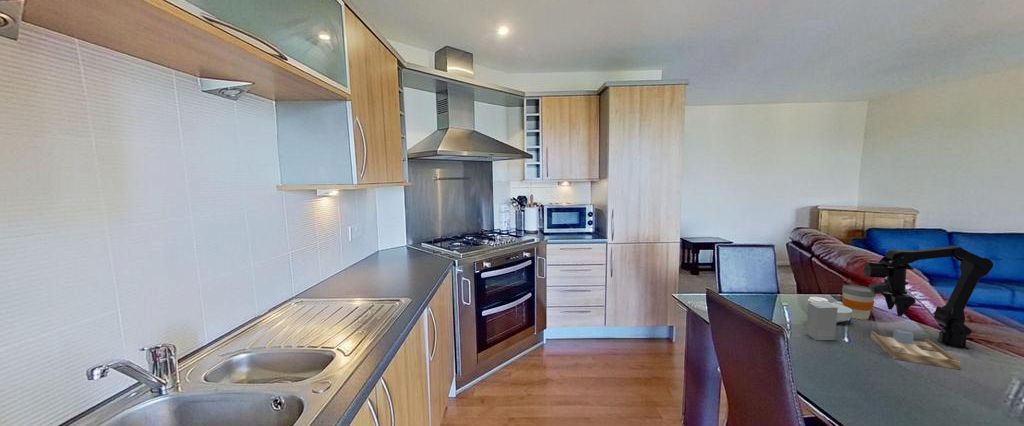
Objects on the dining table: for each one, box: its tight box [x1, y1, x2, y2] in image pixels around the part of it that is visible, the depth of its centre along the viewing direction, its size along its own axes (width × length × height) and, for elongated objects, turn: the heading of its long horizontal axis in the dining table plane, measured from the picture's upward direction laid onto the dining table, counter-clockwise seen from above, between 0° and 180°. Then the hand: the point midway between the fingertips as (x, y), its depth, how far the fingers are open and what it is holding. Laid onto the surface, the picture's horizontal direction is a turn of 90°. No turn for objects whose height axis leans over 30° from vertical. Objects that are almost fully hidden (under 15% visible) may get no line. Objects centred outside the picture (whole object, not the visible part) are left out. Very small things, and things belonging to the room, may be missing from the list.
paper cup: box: [807, 296, 830, 303], centre depth 172 cm, size 8×8×14 cm
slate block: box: [892, 327, 915, 344], centre depth 152 cm, size 4×4×4 cm
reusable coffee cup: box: [841, 284, 876, 320], centre depth 184 cm, size 13×13×15 cm
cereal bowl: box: [829, 302, 853, 324], centre depth 181 cm, size 17×17×7 cm
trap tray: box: [870, 330, 961, 370], centre depth 146 cm, size 18×22×3 cm
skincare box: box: [805, 301, 838, 341], centre depth 159 cm, size 8×7×16 cm
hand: (894, 312), depth 158 cm, fingers open, 9 cm apart
